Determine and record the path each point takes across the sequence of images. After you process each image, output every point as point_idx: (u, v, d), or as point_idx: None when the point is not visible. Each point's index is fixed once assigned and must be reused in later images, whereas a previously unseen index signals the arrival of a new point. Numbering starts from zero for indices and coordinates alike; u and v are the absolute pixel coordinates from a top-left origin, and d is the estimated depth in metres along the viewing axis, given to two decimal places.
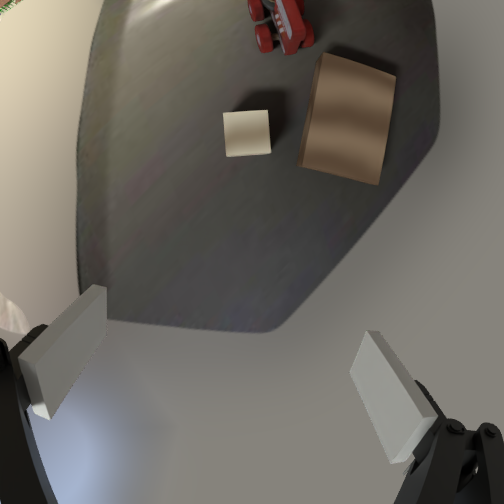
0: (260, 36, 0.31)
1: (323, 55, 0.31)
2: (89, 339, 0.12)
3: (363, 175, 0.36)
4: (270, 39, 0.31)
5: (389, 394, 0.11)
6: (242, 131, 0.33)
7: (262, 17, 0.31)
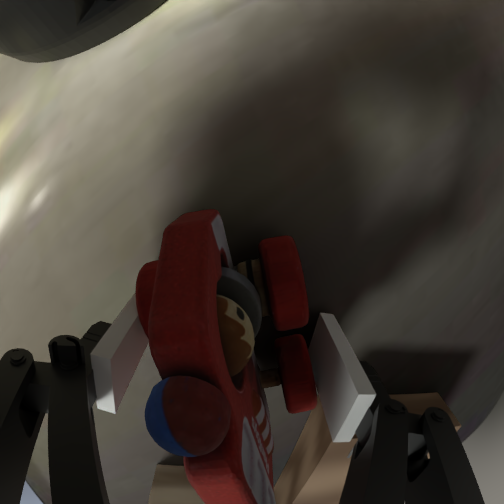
0: None
1: (331, 443, 0.14)
2: (144, 334, 0.14)
3: None
4: None
5: (333, 373, 0.12)
6: None
7: None
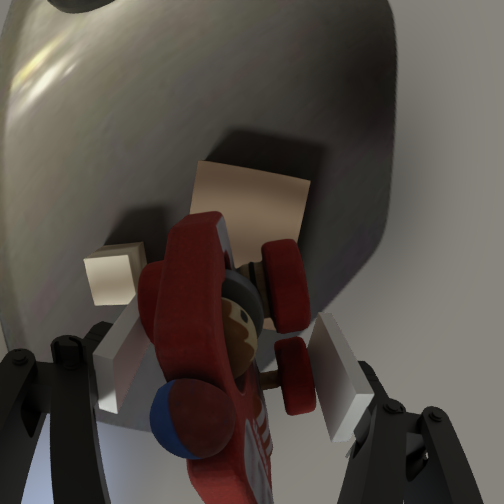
0: None
1: (198, 165, 0.26)
2: (145, 334, 0.14)
3: None
4: None
5: (331, 372, 0.12)
6: (106, 280, 0.28)
7: None
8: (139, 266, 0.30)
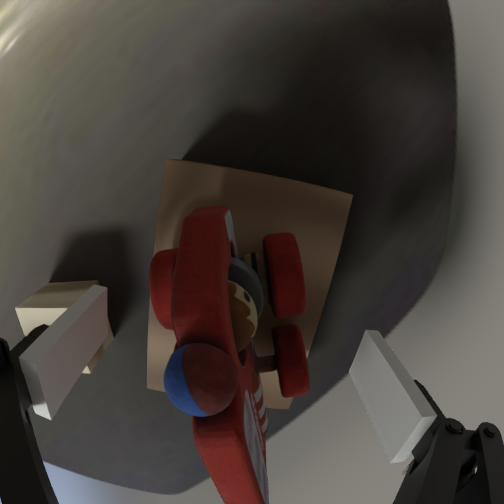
0: None
1: (166, 167, 0.15)
2: (90, 338, 0.12)
3: None
4: None
5: (388, 394, 0.11)
6: None
7: None
8: None
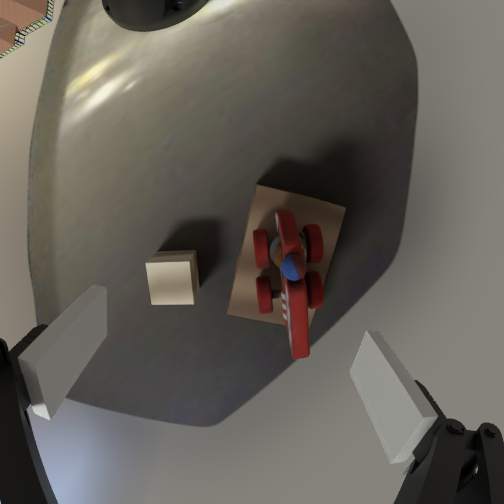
0: (259, 306, 0.32)
1: (257, 189, 0.32)
2: (89, 338, 0.12)
3: None
4: (270, 310, 0.32)
5: (389, 394, 0.11)
6: (165, 283, 0.34)
7: None
8: (194, 271, 0.36)
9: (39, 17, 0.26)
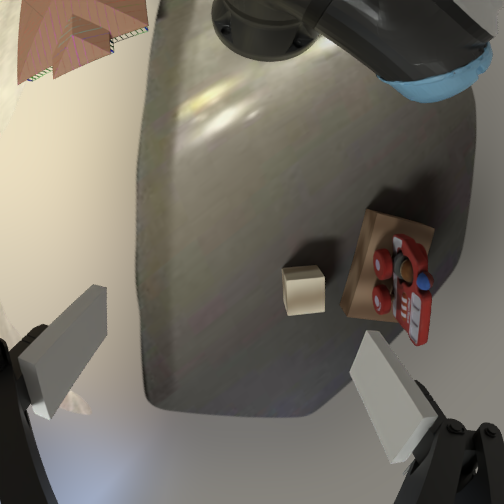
0: (382, 309, 0.38)
1: (376, 216, 0.38)
2: (89, 338, 0.12)
3: (394, 317, 0.42)
4: (389, 311, 0.38)
5: (388, 394, 0.11)
6: (302, 296, 0.40)
7: None
8: None
9: (139, 26, 0.31)
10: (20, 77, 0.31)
